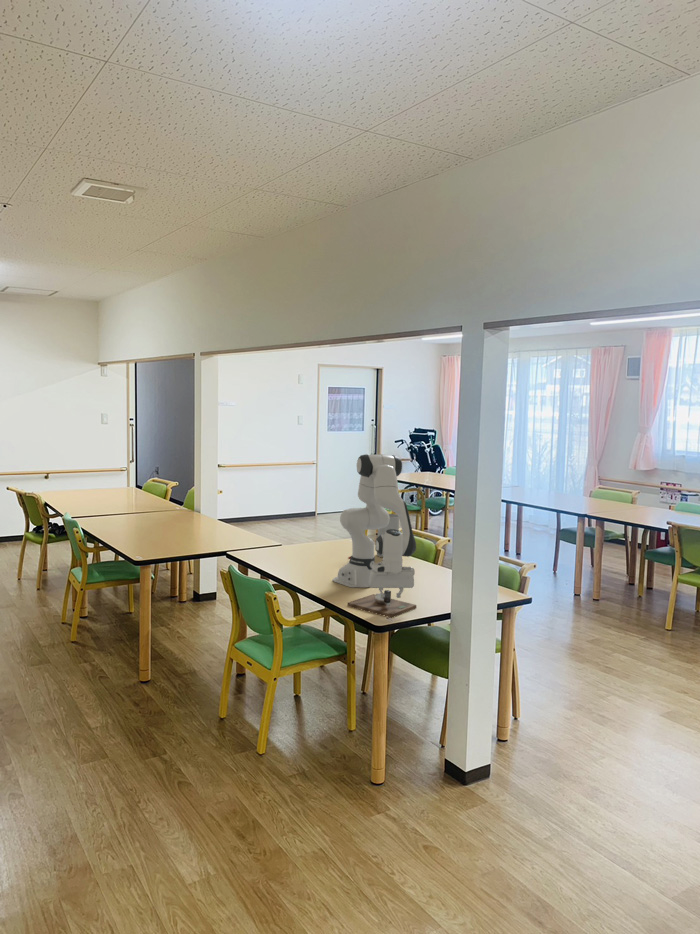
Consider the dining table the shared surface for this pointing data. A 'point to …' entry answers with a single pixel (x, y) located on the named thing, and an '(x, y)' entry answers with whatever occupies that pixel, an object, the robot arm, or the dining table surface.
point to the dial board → (382, 606)
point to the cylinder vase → (389, 526)
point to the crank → (383, 600)
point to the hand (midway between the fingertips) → (390, 597)
